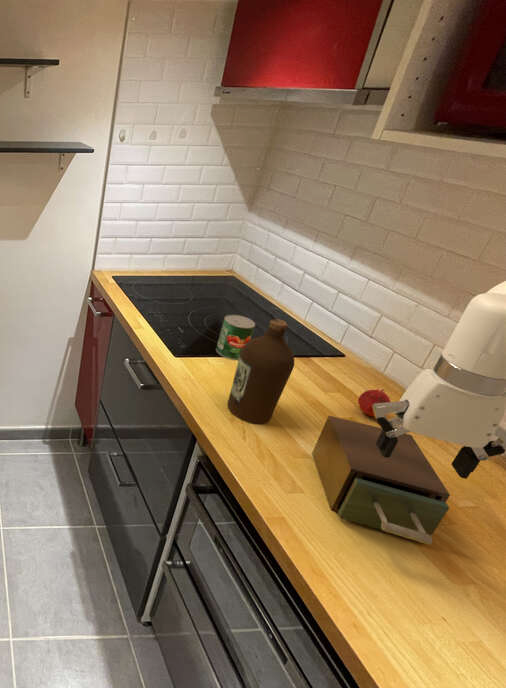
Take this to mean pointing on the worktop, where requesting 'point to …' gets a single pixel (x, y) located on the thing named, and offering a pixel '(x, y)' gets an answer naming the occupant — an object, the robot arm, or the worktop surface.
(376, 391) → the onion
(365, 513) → the drawer
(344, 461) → the cabinet
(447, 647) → the worktop surface
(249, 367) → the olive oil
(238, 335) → the canned tomato
